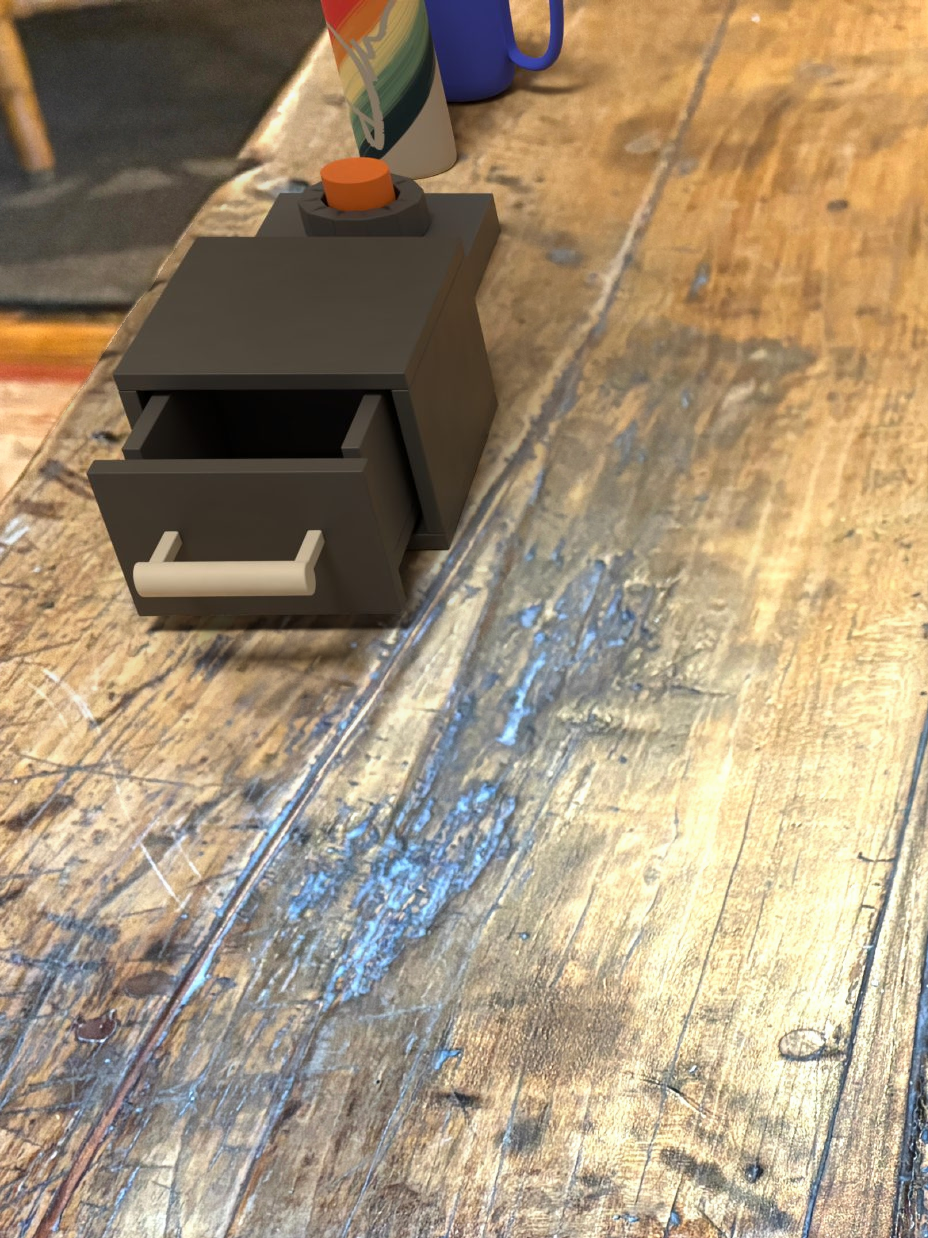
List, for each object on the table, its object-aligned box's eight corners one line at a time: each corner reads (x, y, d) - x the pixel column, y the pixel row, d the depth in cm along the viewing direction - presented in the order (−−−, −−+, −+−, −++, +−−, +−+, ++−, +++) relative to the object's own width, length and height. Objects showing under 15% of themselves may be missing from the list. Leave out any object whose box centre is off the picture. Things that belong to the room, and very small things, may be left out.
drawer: (383, 666, 96) (342, 520, 91) (111, 669, 95) (55, 523, 90) (454, 467, 108) (421, 329, 103) (214, 468, 107) (169, 330, 102)
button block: (248, 306, 122) (226, 232, 119) (290, 231, 128) (270, 159, 126) (472, 306, 122) (455, 232, 119) (501, 231, 129) (486, 160, 126)
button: (322, 215, 121) (313, 182, 120) (336, 189, 124) (327, 156, 123) (389, 215, 122) (381, 182, 120) (401, 189, 124) (394, 157, 123)
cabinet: (448, 549, 104) (404, 372, 98) (173, 552, 104) (111, 373, 97) (498, 405, 114) (461, 236, 108) (248, 406, 114) (196, 236, 107)
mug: (556, 123, 141) (524, -52, 133) (377, 105, 142) (335, -70, 135) (605, 77, 146) (577, -93, 139) (431, 60, 147) (395, -110, 140)
